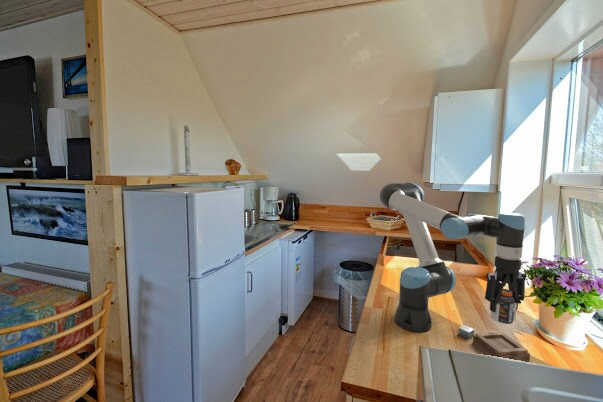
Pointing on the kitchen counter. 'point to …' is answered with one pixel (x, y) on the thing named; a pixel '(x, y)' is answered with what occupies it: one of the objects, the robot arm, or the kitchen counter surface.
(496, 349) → the stand
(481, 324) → the kitchen counter surface
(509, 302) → the pill bottle
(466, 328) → the block
